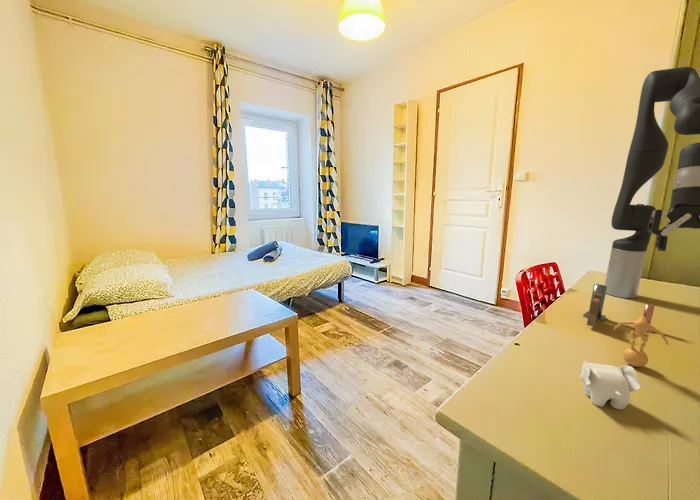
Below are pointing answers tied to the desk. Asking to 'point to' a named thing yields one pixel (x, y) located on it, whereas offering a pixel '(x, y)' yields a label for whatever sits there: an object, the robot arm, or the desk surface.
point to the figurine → (638, 355)
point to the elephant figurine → (609, 383)
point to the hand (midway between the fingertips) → (684, 252)
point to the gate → (594, 309)
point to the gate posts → (602, 290)
